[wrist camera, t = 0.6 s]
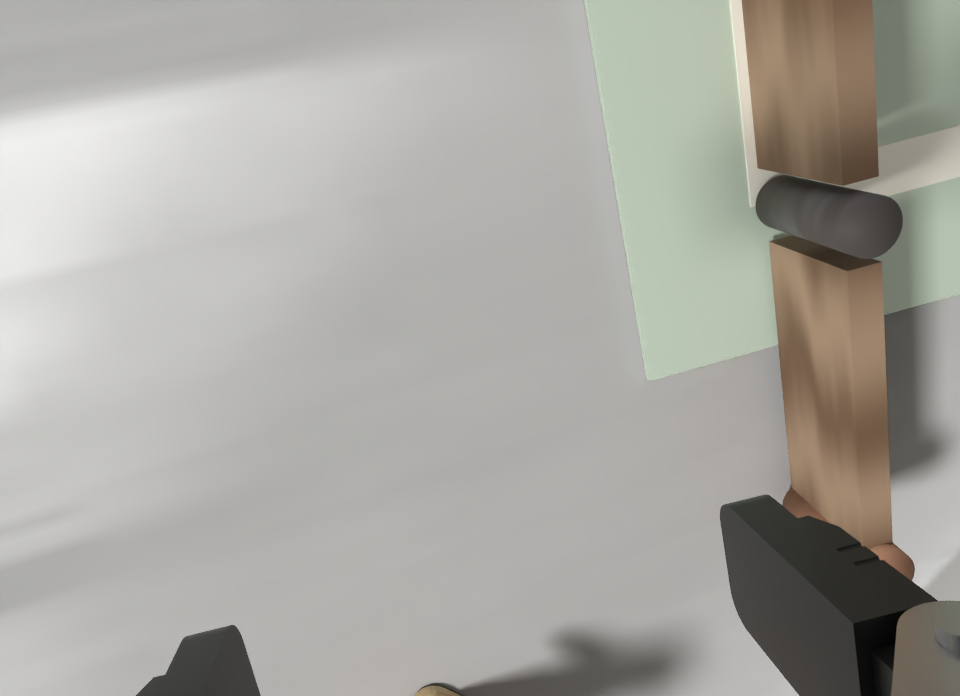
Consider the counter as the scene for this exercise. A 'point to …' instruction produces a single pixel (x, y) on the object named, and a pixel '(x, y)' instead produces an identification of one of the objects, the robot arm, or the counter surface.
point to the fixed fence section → (813, 88)
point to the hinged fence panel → (834, 353)
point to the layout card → (736, 179)
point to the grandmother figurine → (435, 691)
